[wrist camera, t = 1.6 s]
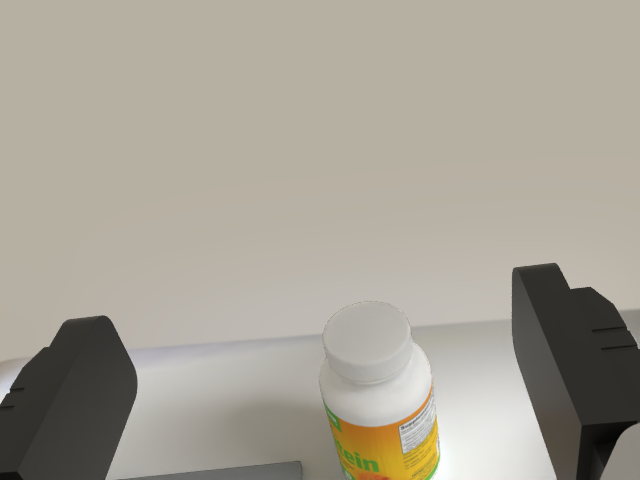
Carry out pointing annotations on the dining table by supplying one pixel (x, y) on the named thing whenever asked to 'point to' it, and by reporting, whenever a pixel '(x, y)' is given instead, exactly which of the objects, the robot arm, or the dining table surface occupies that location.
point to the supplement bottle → (379, 395)
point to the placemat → (239, 473)
